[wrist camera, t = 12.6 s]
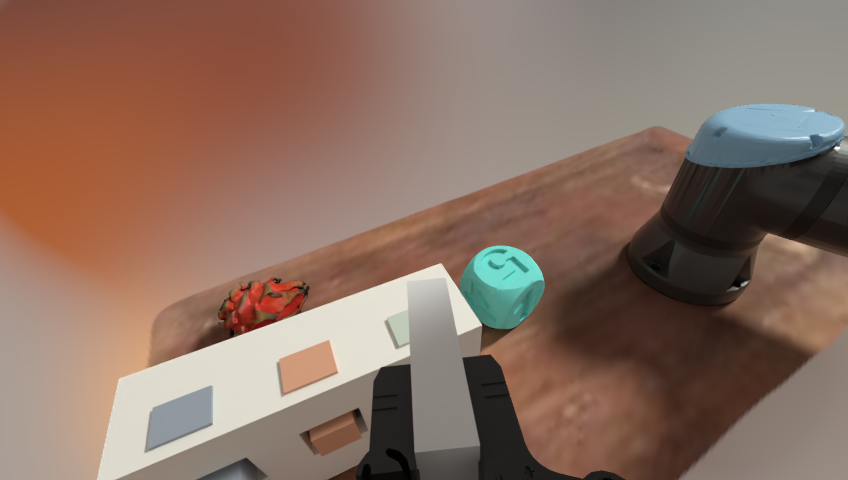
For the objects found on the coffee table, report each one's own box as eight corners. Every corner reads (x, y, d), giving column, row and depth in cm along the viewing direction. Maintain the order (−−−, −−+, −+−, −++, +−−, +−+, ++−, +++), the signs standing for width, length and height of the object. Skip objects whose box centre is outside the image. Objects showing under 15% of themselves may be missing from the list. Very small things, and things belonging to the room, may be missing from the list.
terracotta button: (347, 388, 36) (340, 370, 34) (361, 438, 32) (354, 421, 30) (311, 404, 35) (301, 386, 33) (322, 456, 32) (311, 441, 29)
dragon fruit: (228, 347, 51) (314, 316, 56) (225, 365, 43) (325, 328, 48) (210, 289, 50) (298, 263, 55) (204, 297, 42) (307, 266, 47)
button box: (444, 350, 46) (440, 261, 36) (475, 407, 41) (482, 323, 30) (211, 450, 39) (116, 376, 28) (210, 536, 34) (91, 486, 23)
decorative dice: (501, 340, 47) (507, 302, 42) (458, 303, 52) (459, 264, 47) (540, 307, 51) (550, 267, 45) (497, 275, 55) (501, 236, 50)
